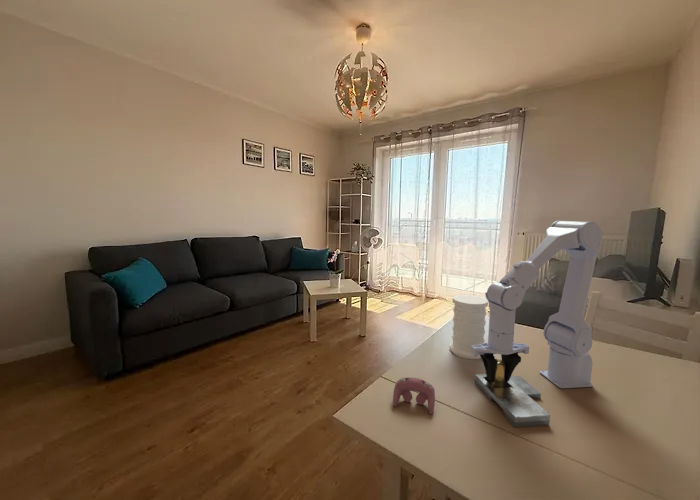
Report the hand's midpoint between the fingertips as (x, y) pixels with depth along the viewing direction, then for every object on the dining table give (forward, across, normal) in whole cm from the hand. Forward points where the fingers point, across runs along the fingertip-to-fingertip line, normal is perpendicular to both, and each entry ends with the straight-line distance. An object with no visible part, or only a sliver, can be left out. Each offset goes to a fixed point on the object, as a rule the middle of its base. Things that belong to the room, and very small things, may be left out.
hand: (497, 379), depth 76 cm
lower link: (+3, -2, 0) cm, 4 cm away
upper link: (+3, 0, +5) cm, 5 cm away
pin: (+2, 0, 0) cm, 2 cm away
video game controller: (+3, +23, +3) cm, 24 cm away
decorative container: (+3, -3, -22) cm, 22 cm away
